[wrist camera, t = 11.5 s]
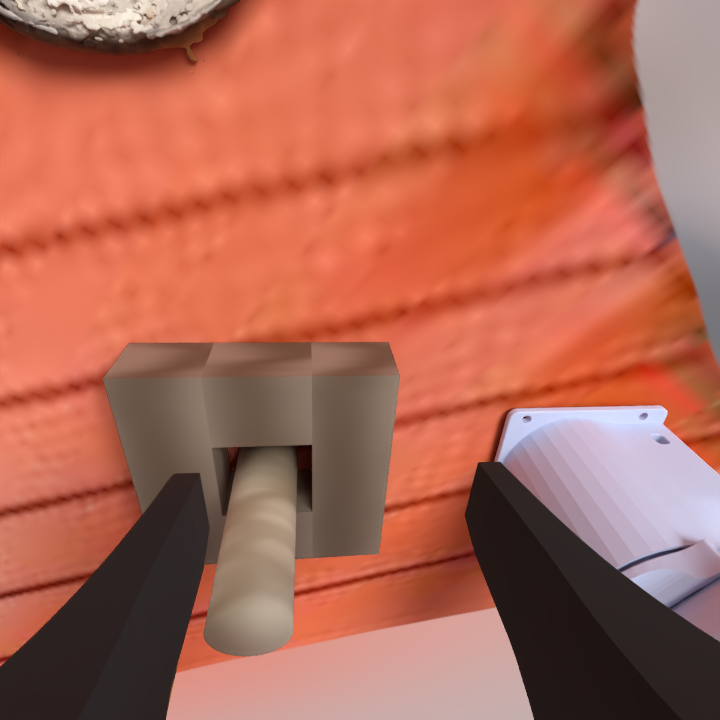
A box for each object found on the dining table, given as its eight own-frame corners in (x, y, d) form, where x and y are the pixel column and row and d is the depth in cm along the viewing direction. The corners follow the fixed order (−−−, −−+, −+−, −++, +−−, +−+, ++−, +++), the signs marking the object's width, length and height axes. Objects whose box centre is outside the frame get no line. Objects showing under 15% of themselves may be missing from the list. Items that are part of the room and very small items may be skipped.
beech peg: (297, 418, 23) (291, 604, 14) (298, 460, 24) (294, 652, 16) (239, 419, 23) (197, 611, 14) (244, 462, 24) (209, 659, 16)
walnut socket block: (388, 342, 21) (399, 375, 19) (372, 511, 27) (379, 554, 25) (129, 343, 20) (102, 378, 17) (172, 521, 26) (157, 567, 23)
